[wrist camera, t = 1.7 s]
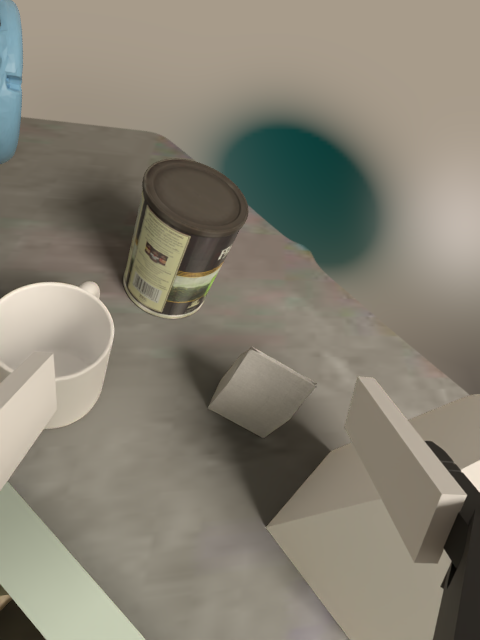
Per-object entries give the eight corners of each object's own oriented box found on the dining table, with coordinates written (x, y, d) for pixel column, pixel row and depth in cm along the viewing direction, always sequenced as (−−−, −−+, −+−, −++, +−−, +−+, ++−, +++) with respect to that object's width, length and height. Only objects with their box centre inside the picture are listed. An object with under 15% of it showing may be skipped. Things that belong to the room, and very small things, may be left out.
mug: (52, 307, 38) (52, 235, 30) (129, 337, 40) (147, 276, 32) (-22, 412, 30) (-49, 352, 23) (76, 445, 32) (83, 399, 24)
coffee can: (210, 268, 50) (252, 183, 39) (199, 329, 44) (245, 247, 33) (134, 242, 47) (157, 143, 37) (111, 303, 41) (130, 204, 30)
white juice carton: (263, 438, 39) (312, 402, 32) (207, 408, 38) (244, 364, 31) (272, 409, 41) (320, 369, 34) (220, 380, 41) (257, 333, 33)
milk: (265, 527, 34) (545, 445, 15) (330, 451, 41) (576, 327, 22) (357, 649, 31) (849, 747, 12) (409, 545, 39) (770, 500, 19)
